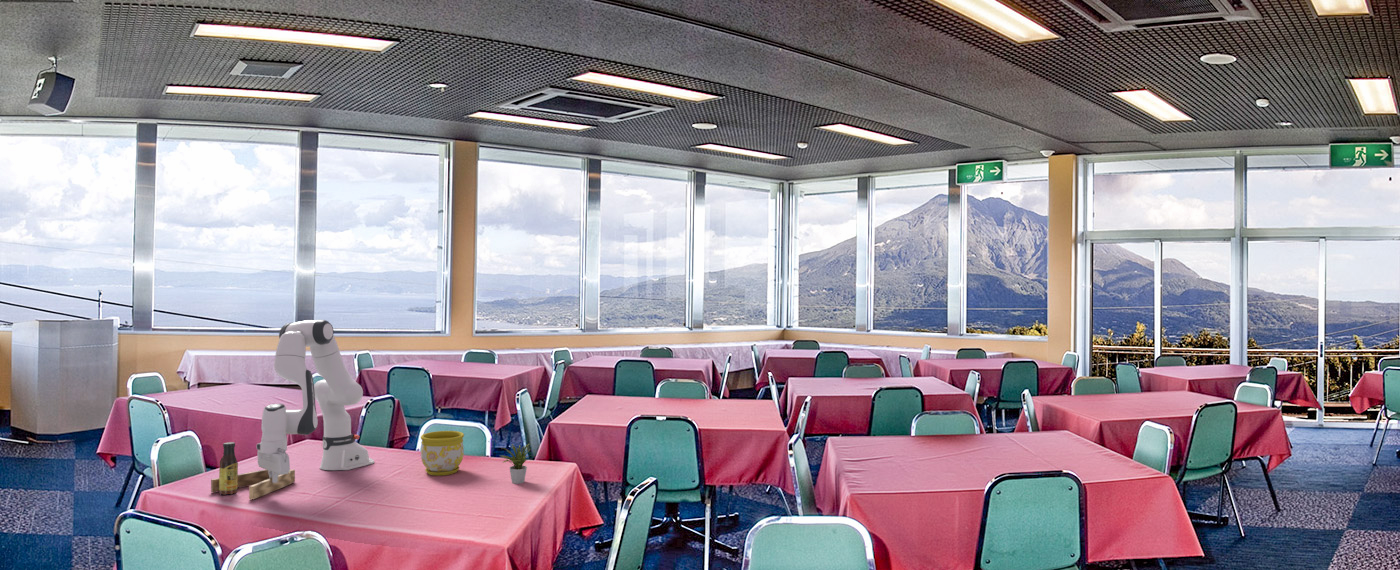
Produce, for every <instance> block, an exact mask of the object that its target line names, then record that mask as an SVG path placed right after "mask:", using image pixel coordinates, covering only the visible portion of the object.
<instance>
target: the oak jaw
mask: <svg viewBox="0 0 1400 570" xmlns="http://www.w3.org/2000/svg"><path fill="white" fill-rule="evenodd" d="M295 482H296V470H295V469H290V471H289V473H288V474H283V475H279V476H278V482H277V483H272V482H270V479H267V480H265V481H262V482H259V483H257V484H254V485H250V486H248V488H249V489H248V494H249V495H248V500H252V499H253V500H255V499H258V498H260V497H263V496H265V495H268V494H271V493H272V492H275V491H277V490H279V489H282V488H284V487H287V486H290V485H291V484H293V483H295Z"/></svg>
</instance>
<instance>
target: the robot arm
mask: <svg viewBox="0 0 1400 570" xmlns="http://www.w3.org/2000/svg"><path fill="white" fill-rule="evenodd" d="M334 332H335V331H334V327H333V325H332V324H331V322H329V321H328V320H325V319H314V320H313V319H305V320H302V321H296V322H289V323H286V324H284V325H282V326H281V328H280V329H279V333H278V336H279V338H278V339H279V340H278V343H277V347H276V351H275V355H274V362H273V363H274V365H273V366H274V371H275V373H276V374H277V375H278V376H279V377H280V378H282V379H284V380H285V381H288V382H291V383H294V384H296V385H298V386H300V388H301V393H302V394H301V395H302V408H301V409H287V408H286V405H285V404H282V403H272V404H268V405H266V406H264V408H263V411H262V417H261V432H262V434H261V439H260V440H261V441H260V442H259V443H256V450H257V452H256V453H257V457H256V458H257V465H258V467H259V468H261V469H263V470H265V469H266V470H268V474H269V477H270V482H272V483H277V482H278V476H279V475H283V474H288V473H289V471H290V470H291V467H290V464H291V463H290V456H289V454H288V453H287V452H286V451H287V450H288V436H287V435H301V436H302V435H303V436H309V435H310V434H312V433H313V432H315V430H317V428H318V422H319V421H318V416H317V409H316V402H317V404H318V406H319V407H320V412H321V414H322V419H323V436H322V458H321V462H320V466H319V469H320V470H323V471H349V470H352V469H357V468H360V467H365V466H369V465H372V464H375V460H374V459H373V458H370V454H369V452H368V449H367V448H366V447H364V446H363V445H361V444H359V443H358V442H356V440H359V439H360V435H359V434H353V433H352V417H351V415H350V413H348V412H347V410H346V407H345V406H347V407H348V406H353V405H356V404H358V403H359V402H360V401H361V400H362V398H363V395H364V391H363V390H364V389H363V387H362V386H361V384H360V383H358V382H356V380H355V379H354V378H353V376H352V375H351V374H350V373H349V371H348V369H347V367H346V366H345V364H344V361H343V358H342V355H341V352H340V348H339V345H338V342H337V340H336V338H335V335H334V334H335V333H334ZM308 347H309V349H310V354H311V358H312V360H313V364H314V367H315V370H316V372H317V374H318V375H319V376H321V378H322V379H321V380H318V381H316V382H315V383H314V377H313V373H312V372H311V370H309V369H308V368H307V366H306V354H307V353H306V352H307V351H306V350H307V349H306V348H308Z"/></svg>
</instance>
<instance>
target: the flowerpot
mask: <svg viewBox="0 0 1400 570" xmlns="http://www.w3.org/2000/svg"><path fill="white" fill-rule="evenodd" d="M464 437H465V434H464V433H463V432H461V431H457V430H437V431H431V432H427V433H426V432H425V433H423V434H421V436H420V440H421V450H420V458H421V462H422V464H423V466H424V468H425V469H424V470H425V472H427V474H428V475H430V476H436V477H437V476H441V477H442V476H449V475H453V474H455V473H457V472H458V471H459V469H460V465H461V463H462V461H463V458H464V455H465V454H464V453H465V452H464V451H465V450H464V448H465V447H464Z"/></svg>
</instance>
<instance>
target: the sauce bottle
mask: <svg viewBox="0 0 1400 570" xmlns="http://www.w3.org/2000/svg"><path fill="white" fill-rule="evenodd" d="M222 447H223V456H222V457H221V458H220V460H219V469H218V470H219V473H218V475H219V477H218V478H219V493H218V494H219V495H220V494H223V495H222V496H227V495H226V494H230V495H233V493H234V494H236V493H237V492H238V488H237V480H238V474H239V473H238V472H239V469H238V468H239V467H238V466H239V463H238V460H237V458H236V454H235V447H236V442H234V441H229V442H223V444H222Z"/></svg>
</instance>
